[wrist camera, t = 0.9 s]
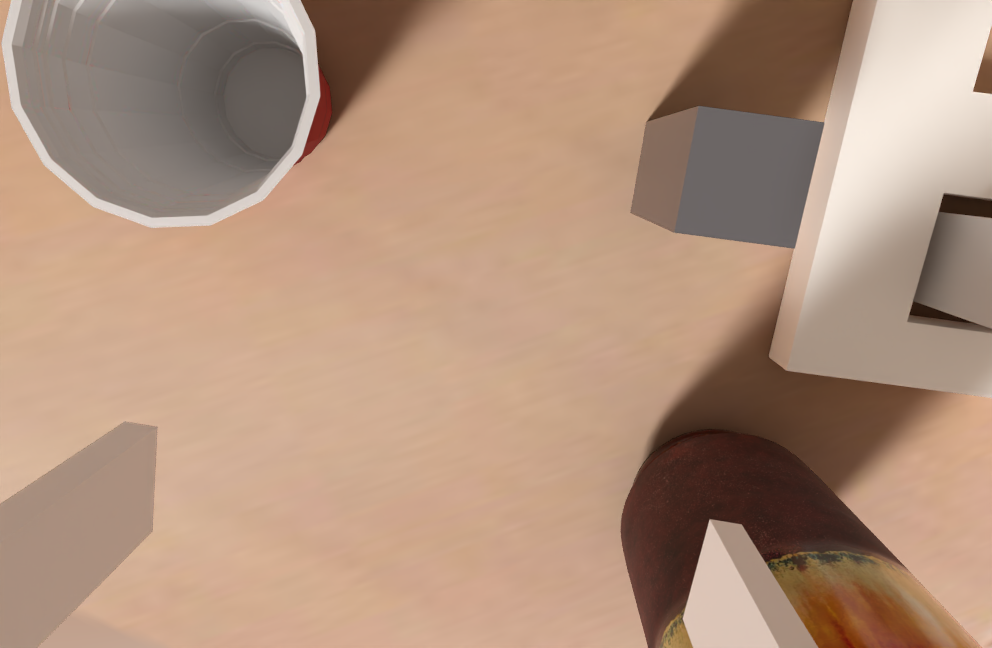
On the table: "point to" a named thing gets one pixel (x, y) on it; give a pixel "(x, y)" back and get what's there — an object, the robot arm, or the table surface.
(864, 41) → the white peg board
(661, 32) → the table surface
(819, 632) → the vase
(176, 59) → the plastic cup
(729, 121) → the dark grey block
